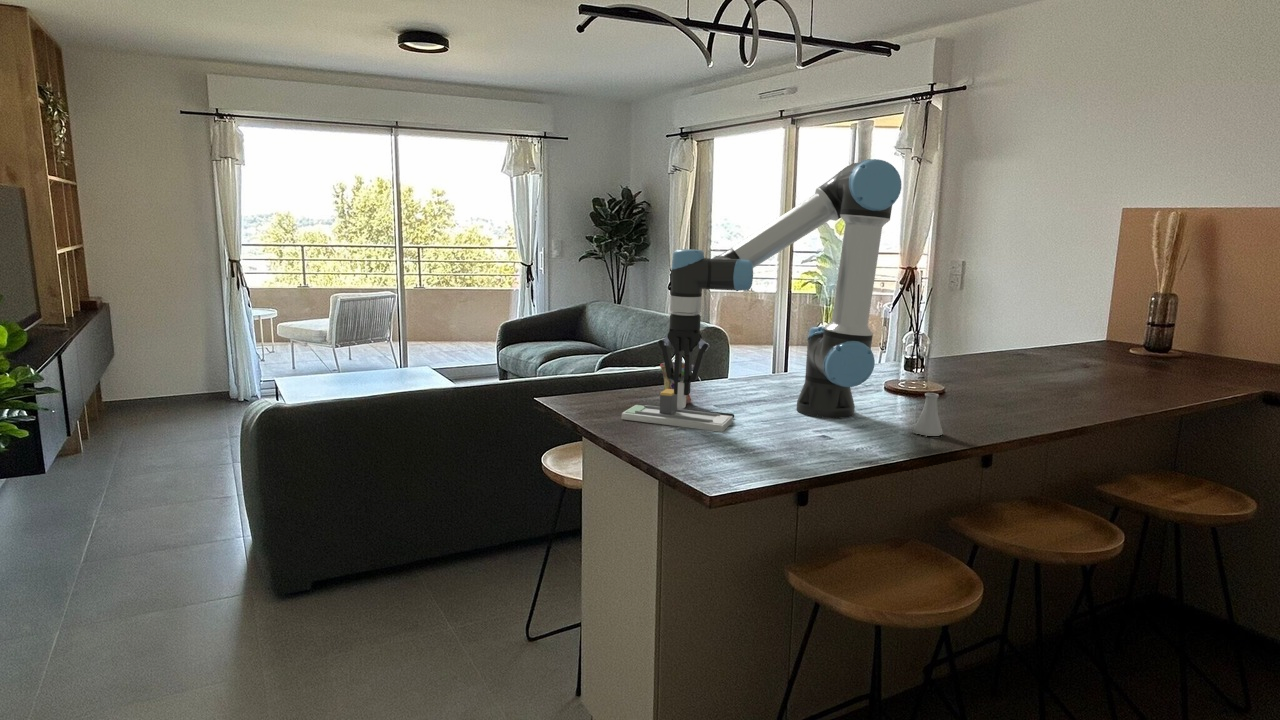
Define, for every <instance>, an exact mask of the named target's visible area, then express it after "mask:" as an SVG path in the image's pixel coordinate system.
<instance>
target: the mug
mask: <svg viewBox="0 0 1280 720" xmlns="http://www.w3.org/2000/svg"><path fill="white" fill-rule="evenodd" d="M672 363H673V369H674V363H675V361H672ZM684 364H685V362H682V375H681V378H682V379H681V381H684ZM659 366H660V369H661V371H662V376H663V391H664V390H665V389H674V381H673V380H672V379H669V378H667V374H666V368H665V363H664V362H662V363H660V364H659ZM694 366H695V364H692V371H693V369H694ZM691 402H692V398H691V395H690V394H689V395H686V405H688V404H690V403H691Z"/></svg>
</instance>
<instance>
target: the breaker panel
mask: <svg viewBox="0 0 1280 720" xmlns="http://www.w3.org/2000/svg"><path fill="white" fill-rule="evenodd" d="M683 409H684V408H683ZM683 409H677V412H676V413H674V414H673V415H668V414H660V406H659V407H658V405H649V404H645V405H643V406H642V404H641V405H640V404H635V405H634V406H633V405H632V406H631V407H630V408H628V409H626V410H624V411H623V412H621V420H626V421H635V422H641V423H642V422H643V423H649V424H650V423H651V424H659V425H666V426H675V427H680V428H681V427H683V428H690V429H698V430H707V431H714V432H721V433H723V432H724V431H725V430H726V429H728V427H729V426H730V425H731V424H732V423H733V419H734V418H733V416H726V415H720V414H717V413H709V412H700V411H701V410H700V411H692V410H693V409H690V410H683Z"/></svg>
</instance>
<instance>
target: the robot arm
mask: <svg viewBox="0 0 1280 720" xmlns="http://www.w3.org/2000/svg"><path fill="white" fill-rule="evenodd" d="M901 191H902V179H901V175H900V173H899V171H898V170H897V169H896V167H895V166H894V165H893V164H892V163H890V162H888V161H886V160H883V159H875V158H873V159H872V158H871V159H870V158H868V159H865V160H862V161H859V162H854V163H852V164H850V165H847V166H846V167H844V168H843V169H841V170H840V171H838V172H837V173H836V174H835V175H834V176H832V177H831V178H830V179H828V180H827V181H826V182H824V183H823V184H821V185H819V187H817V188H816V189H815V192H814V193H813V195H812V196H810V197H809V198H807V199H806V200H804V201H803V202H800V203H799V204H798V205H796V206H794V207H793V208H791V209H790V210H789V211H787V212H785V213H783V214H782V215H781V216H779V217H778V218H776V219H773V221H771V222H770V223H768V224H766V225H765V226H763V227H762V228H761V229H758V230H757V231H755V232H754V233H752V234H751V235H749V236H747V237H746V238H744V239H743V240H742V241H740V242H737V244H735V245H733V246H732V247H730V248H729V249H728V250H726V251H724V252H723V253H721V254H718V255H716V256H714V257H712V258H709V257H708V258H707V257H705V254H704V251H703V250H702V249H690V248H689V249H688V248H687V249H686V248H685V249H684V248H682V249H680V248H678V249H676V250H674V251H673V253H672V261H671V262H672V263H671V278H670V279H671V280H670V281H671V282H670V286H671V287H670V307H669V309H670V312H672V313H670V314H669V327H668V328H669V330H668V332H667V335H666V336H665V337H664V338H661V339H660V340H657V341H658V345H659V346H660V349H661V352H662V356H663V363H665V368H666V374H667V378H669V379H672V380H673V381H674V394H677V408H679V409H686V406H687V404H686V395H690V394H691V383H692V382H695V381H697V380H698V379H699V378H700V373H701V370H702V366H703V363H704V359H705V356H706V353H707V352H708V350H709V348H710V347H711V343H710V342H706V341H705V340H704V339H703V337H702V334H701V317H702V316H701V315H700V313H701V312H702V299H703V298H702V297H703V296H702V294H703V293H702V292H703V290H714V291H715V290H716V291H717V290H719V291H735V292H739V291H740V292H741V291H749V290H750V289H751V288H752V286H753V280H754V268H755V267H757V266H759V265H760V264H762V263H763V262H765V261H767V260H769V259H770V258H772V257H774V256H775V255H777V254H778V253H781V251H783V250H785V249H786V248H787V247H789V246H791V245H793V243H796V242H798V241H799V240H800V239H802V238H804V237H805V236H806V235H809V234H810V233H812V232H813V231H815V230H816V229H818V228H820V227H821V226H823V225H825V224H826V223H827V222H829V221H838V220H839V219H842V220H843V222H844V231H843V238H842V245H841V253H840V259H839V265H838V266H839V267H838V273H837V281H836V282H837V283H836V288H835V290H836V291H835V294H834V295H835V296H834V303H833V309H832V316H831V317H832V318H831V321H830V322H829V323H828V324H827V325H826V326H812V327H810V328H809V330H808V335H807V339H806V340H807V349H806V363H805V377H804V384H803V387H802V389H801V390H800V394H799V396H798V398H797V400H796V411H797V412H798V413H801V414H802V415H806V416H810V417H815V418H823V419H846V418H851V417H853V416H855V411H856V410H855V407H856V405H855V402H854V397H853V393H852V389H851V388H854V387H857V386H858V387H859V385H861V384H863V383H865V382H866V381H867V380H868V379H869V378H870V377H871V375H872V374H873V373H874V369H875V364H876V363H875V362H876V361H875V360H876V359H875V356H874V353H873V351H872V343H873V337H874V333H873V332H872V330H871V329H870V327H869V319H870V313H871V311H870V310H871V306H872V298H873V293H874V286H875V285H874V284H875V279H876V272H877V265H878V257H879V251H880V245H881V238H882V231H883V227H884V226H885V225H886V224H888V222H889V221H891V216H892V215H891V214H892V209H893V205H894V204H895V203H896V201H897V200H898V198H900V194H901ZM670 344H671V346H672V347H673V349H674V350H673V351H674V352H673V353H674V362H675V363H674V369H673V363H672V362H673V360H672V353H671V348H670ZM698 345H699V346H698ZM697 346H698V348H699V350H698V353H697V356H696V360H695V362H694V368H693V370H692V365H693V354H694V350H695V349H696V347H697ZM683 354H684V363H685V364H684V381H681V379H682V378H681V375H682V363H683Z"/></svg>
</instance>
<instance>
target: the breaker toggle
mask: <svg viewBox="0 0 1280 720" xmlns="http://www.w3.org/2000/svg"><path fill="white" fill-rule="evenodd" d="M659 397H660V398H659V407H660V414H668V415H673V414H674V413H676V412H677V394H674V389H665V390H664V389H663V390H662V391H660V393H659Z"/></svg>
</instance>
